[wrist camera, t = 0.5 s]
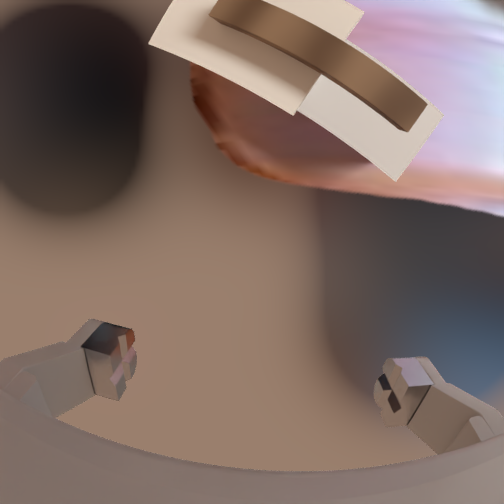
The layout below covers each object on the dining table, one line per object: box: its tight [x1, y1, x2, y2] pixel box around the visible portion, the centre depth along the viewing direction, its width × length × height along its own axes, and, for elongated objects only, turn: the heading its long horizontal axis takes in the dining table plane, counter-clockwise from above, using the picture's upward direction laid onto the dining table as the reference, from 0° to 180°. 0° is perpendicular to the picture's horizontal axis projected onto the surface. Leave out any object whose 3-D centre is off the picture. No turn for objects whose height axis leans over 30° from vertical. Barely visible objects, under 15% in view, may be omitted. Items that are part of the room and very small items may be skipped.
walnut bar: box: [209, 0, 428, 132], centre depth 18 cm, size 18×3×3 cm, turn 59°
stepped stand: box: [148, 0, 444, 182], centre depth 32 cm, size 31×12×28 cm, turn 59°
